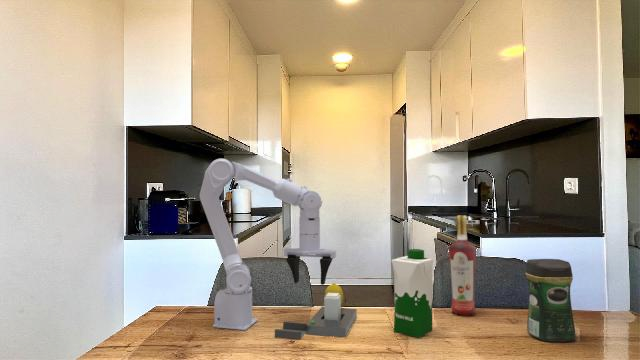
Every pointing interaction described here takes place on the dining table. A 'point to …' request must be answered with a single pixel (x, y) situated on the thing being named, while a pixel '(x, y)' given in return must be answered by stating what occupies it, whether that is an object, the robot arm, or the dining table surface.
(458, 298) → the liquor
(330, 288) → the lemon
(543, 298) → the coffee jar
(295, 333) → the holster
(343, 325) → the port panel
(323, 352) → the dining table surface
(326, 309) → the plug
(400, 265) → the milk carton
